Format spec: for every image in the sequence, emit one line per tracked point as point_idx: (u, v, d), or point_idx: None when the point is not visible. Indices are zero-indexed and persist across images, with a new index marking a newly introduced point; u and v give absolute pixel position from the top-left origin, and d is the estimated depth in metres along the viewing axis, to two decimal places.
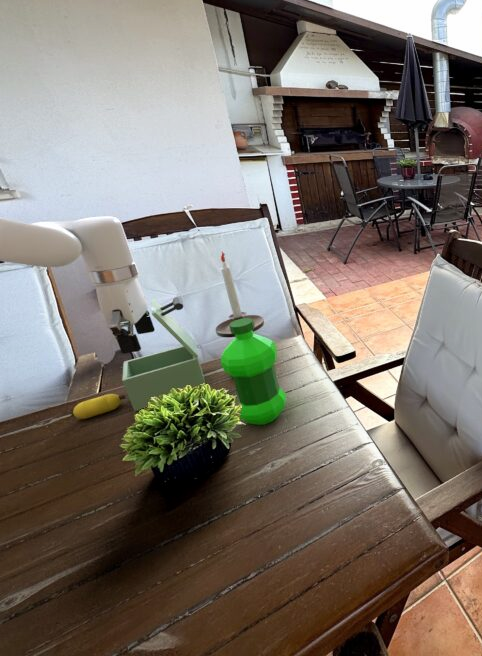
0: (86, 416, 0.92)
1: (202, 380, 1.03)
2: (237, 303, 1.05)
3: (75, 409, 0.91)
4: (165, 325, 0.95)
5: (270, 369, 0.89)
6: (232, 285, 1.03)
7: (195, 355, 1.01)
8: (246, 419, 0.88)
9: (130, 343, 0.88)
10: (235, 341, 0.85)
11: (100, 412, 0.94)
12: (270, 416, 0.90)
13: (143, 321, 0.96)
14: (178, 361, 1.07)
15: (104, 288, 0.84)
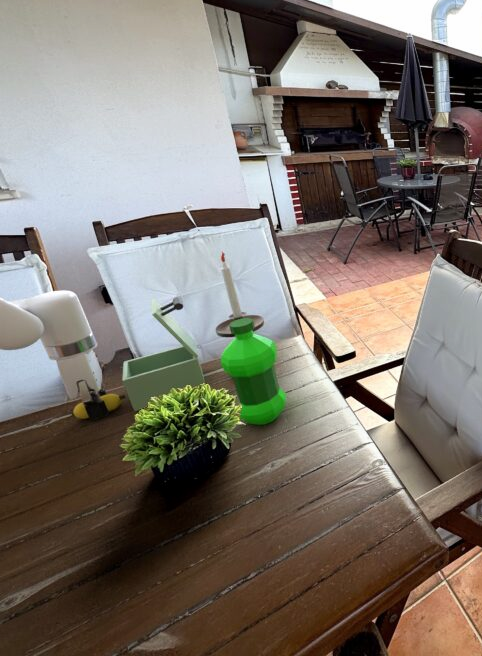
0: (86, 415, 0.92)
1: (202, 380, 1.03)
2: (237, 303, 1.05)
3: (75, 408, 0.91)
4: (165, 325, 0.95)
5: (270, 369, 0.89)
6: (232, 285, 1.03)
7: (195, 355, 1.01)
8: (246, 419, 0.88)
9: (99, 409, 0.92)
10: (235, 341, 0.85)
11: None
12: (270, 416, 0.90)
13: None
14: (178, 361, 1.07)
15: (67, 361, 0.86)
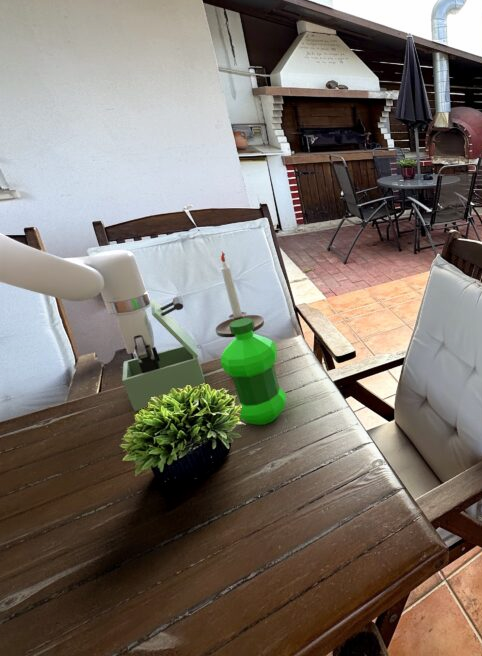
0: None
1: (202, 380, 1.03)
2: (237, 303, 1.05)
3: None
4: (165, 325, 0.95)
5: (270, 369, 0.89)
6: (232, 285, 1.03)
7: (195, 355, 1.01)
8: (246, 419, 0.88)
9: (152, 366, 0.96)
10: (235, 341, 0.85)
11: None
12: (270, 416, 0.90)
13: None
14: (178, 361, 1.07)
15: (126, 316, 0.91)
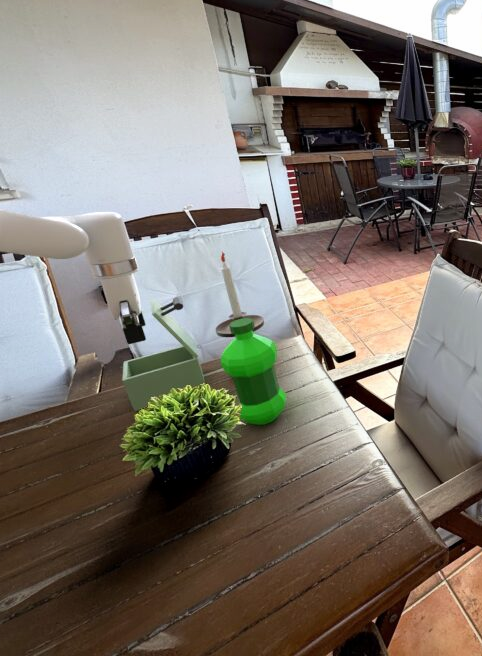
0: None
1: (202, 380, 1.03)
2: (237, 303, 1.05)
3: None
4: (165, 325, 0.95)
5: (270, 369, 0.89)
6: (232, 285, 1.03)
7: (195, 355, 1.01)
8: (246, 419, 0.88)
9: (137, 333, 0.91)
10: (235, 341, 0.85)
11: None
12: (270, 416, 0.90)
13: None
14: (178, 361, 1.07)
15: (112, 280, 0.87)
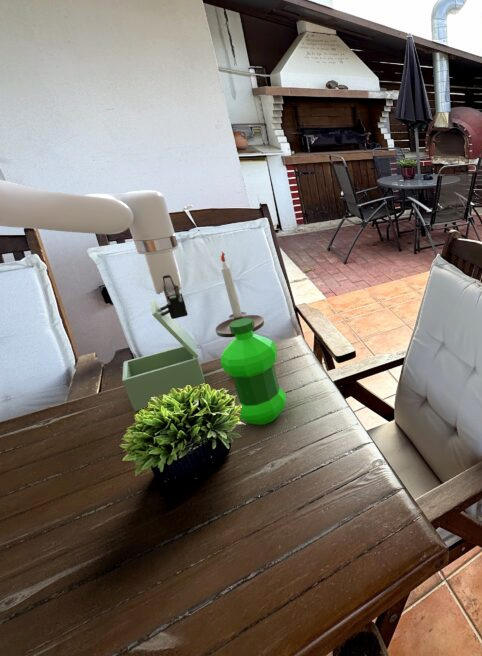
0: None
1: (202, 380, 1.03)
2: (237, 303, 1.05)
3: None
4: (165, 325, 0.95)
5: (270, 369, 0.89)
6: (232, 285, 1.03)
7: (195, 355, 1.01)
8: (246, 419, 0.88)
9: (180, 308, 0.97)
10: (235, 341, 0.85)
11: None
12: (270, 416, 0.90)
13: None
14: (178, 361, 1.07)
15: (156, 255, 0.91)
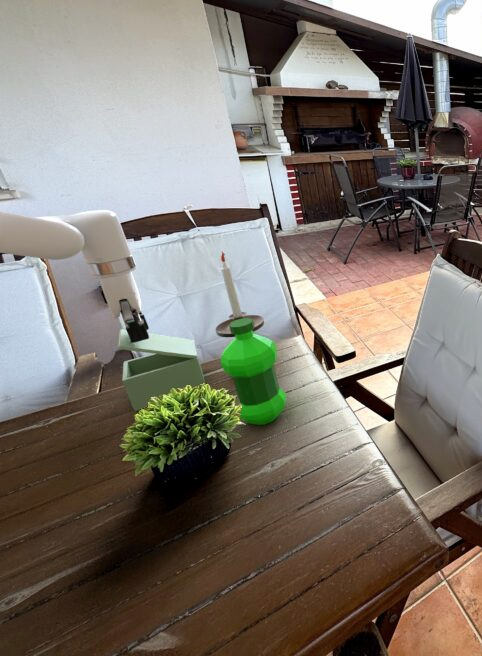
0: None
1: (202, 380, 1.03)
2: (237, 303, 1.05)
3: None
4: (140, 350, 0.93)
5: (270, 369, 0.89)
6: (232, 285, 1.03)
7: (194, 356, 1.01)
8: (246, 419, 0.88)
9: (140, 331, 0.93)
10: (235, 341, 0.85)
11: None
12: (270, 416, 0.90)
13: None
14: (178, 361, 1.07)
15: (110, 279, 0.87)
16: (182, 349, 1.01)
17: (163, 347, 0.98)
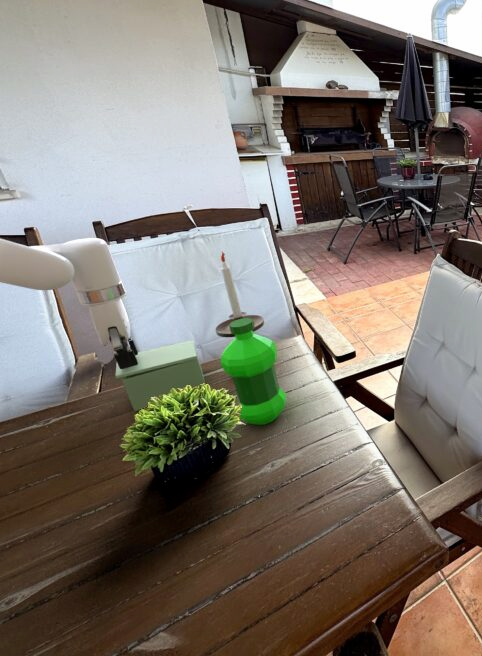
0: None
1: (202, 380, 1.03)
2: (237, 303, 1.05)
3: None
4: (138, 371, 0.94)
5: (270, 369, 0.89)
6: (232, 285, 1.03)
7: (193, 357, 1.01)
8: (246, 419, 0.88)
9: (129, 358, 0.93)
10: (235, 341, 0.85)
11: None
12: (270, 416, 0.90)
13: None
14: None
15: (99, 307, 0.87)
16: (180, 354, 1.01)
17: (161, 360, 0.98)
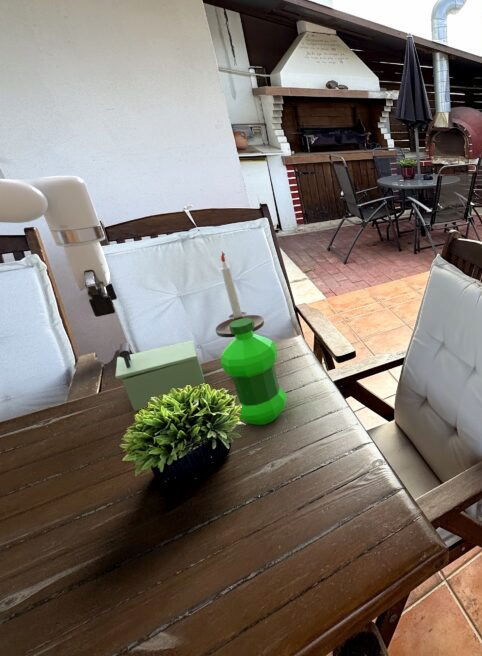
0: None
1: (202, 380, 1.03)
2: (237, 303, 1.05)
3: None
4: (138, 372, 0.94)
5: (270, 369, 0.89)
6: (232, 285, 1.03)
7: (193, 357, 1.01)
8: (246, 419, 0.88)
9: (105, 305, 0.87)
10: (235, 341, 0.85)
11: None
12: (270, 416, 0.90)
13: None
14: None
15: (75, 248, 0.82)
16: (180, 355, 1.01)
17: (161, 360, 0.98)
